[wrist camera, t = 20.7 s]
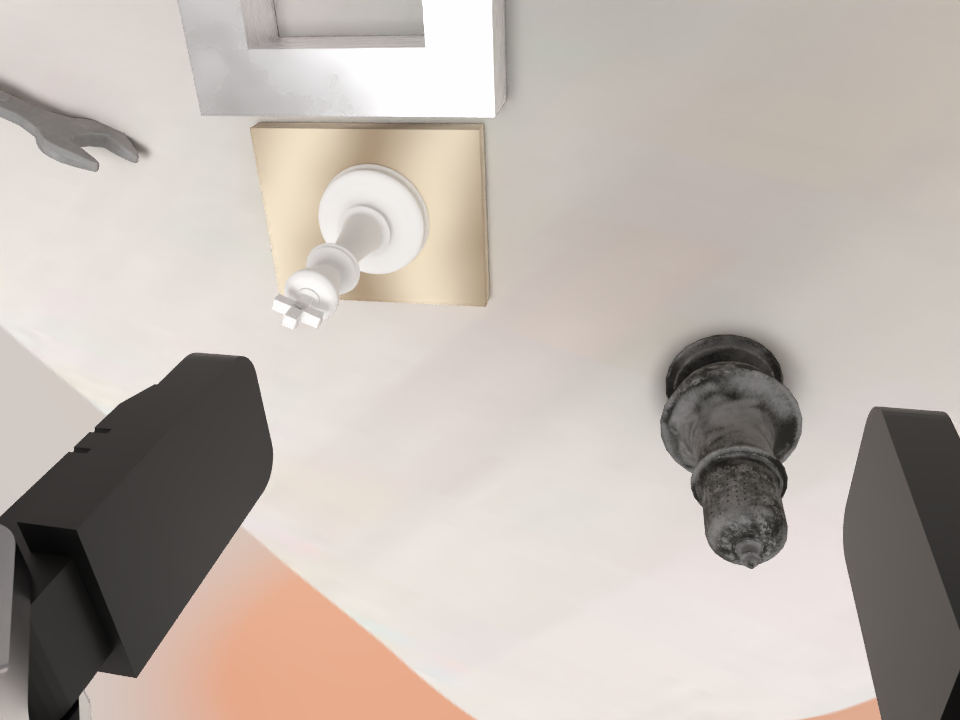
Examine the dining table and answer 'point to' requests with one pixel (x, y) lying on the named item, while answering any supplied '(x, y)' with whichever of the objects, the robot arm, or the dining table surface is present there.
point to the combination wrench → (66, 133)
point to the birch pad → (414, 154)
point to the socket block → (347, 64)
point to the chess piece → (355, 240)
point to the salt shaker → (733, 442)
